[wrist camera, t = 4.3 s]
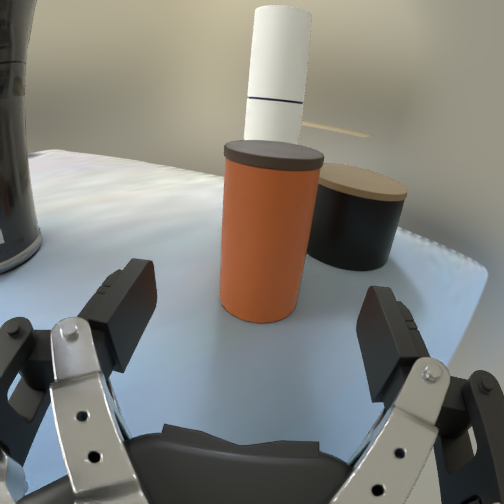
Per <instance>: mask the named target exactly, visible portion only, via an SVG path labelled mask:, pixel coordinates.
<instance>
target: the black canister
mask: <svg viewBox="0 0 504 504" xmlns="http://www.w3.org/2000/svg"><path fill="white" fill-rule="evenodd" d="M407 192H408V190H407V188H406V187H405V186H404V185H403V184H401V183H400V182H398V181H396V180H395V179H393V178H390V177H388V176H386V175H383V174H380V173H377V172H374V171H370V170H367V169H363V168H359V167H354V166H349V165H343V164H334V163H323V166H322V167H321V169H320V176H319V182H318V189H317V195H316V201H315V207H314V213H313V219H312V224H311V230H310V236H309V241H308V247H307V253H308V254H309V255H311V256H312V257H314V258H316V259H317V260H319V261H321V262H324V263H326V264H329V265H331V266H334V267H338V268H342V269H347V270H354V271H368V270H374V269H377V268H380V267H382V266H383V265H384V264H385V263H386V262H387V259H388V256H389V253H390V250H391V247H392V243H393V240H394V236H395V233H396V230H397V226H398V222H399V218H400V215H401V211H402V207H403V203H404V200H405V198H406V196H407Z"/></svg>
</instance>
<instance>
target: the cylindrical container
mask: <svg viewBox="0 0 504 504" xmlns="http://www.w3.org/2000/svg"><path fill="white" fill-rule="evenodd" d="M311 22H312V15H311V14H310V13H309V12H307V11H305V10H303V9H299V8H296V7H291V6H284V5H267V6H262V7H258V8H257V9H256V10H255V18H254V29H253V39H252V50H251V61H250V74H249V84H248V96H249V99H247V109H246V120H245V134H244V140H266V141H277V142H285V143H291V144H296V145H299V140H300V132H301V123H302V114H303V104H302V103H303V102H304V96H305V86H306V76H307V66H308V56H309V45H310V33H311Z"/></svg>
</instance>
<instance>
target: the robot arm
mask: <svg viewBox="0 0 504 504" xmlns="http://www.w3.org/2000/svg"><path fill="white" fill-rule="evenodd" d="M36 2H37V0H0V273H3V272H5V271H8V270H10V269H12V268H14V267H16V266H18V265H19V264H21V263H23V262H24V261H25V260H27V259H28V258H29V257H31V256H32V255H33V254H34V253H35V252H36V251H37V250H38V248H39V247H40V245H41V242H42V236H41V232H40V228H39V226H38V222H37V217H36V212H35V206H34V200H33V193H32V187H31V180H30V172H29V163H28V154H27V141H26V123H25V75H26V59H27V48H28V44H29V39H30V34H31V28H32V22H33V16H34V11H35V6H36ZM156 304H157V289H156V281H155V272H154V264H153V262H152V261H150V260H143V259H135V258H133V259H131V260H130V262H129V263H128V264H127V265H126V267H125V268H124V269H123V270H120V269H119V270H117V271H116V272H114V273H112V274H111V275H109V276H108V277H107V278H106V280H105V281H104V282H103V283H102V286H100V287H99V289H98V290H97V291H96V293H95V294H94V295H93V296H92V298H91V299H90V300H89V301H88V303H87V304H86V305H85V307H84V308H83V309H82V311H81V312H80V313H79V315H78V316H77V317H70V318H66V319H63V320H61V321H59V322H58V323H57V324H56V325H55V326H54V327H53V328H52V330H34V329H33V327H32V325H31V323H30V321H29V320H28V319H27V318H24V317H16V318H12V319H10V320H8V321H7V322H5V323H4V324H3V325H2V327H1V328H0V504H404V503H405V502H406V500H407V498H408V496H409V495H410V493H411V491H412V489H413V487H414V485H415V483H416V481H417V479H418V478H419V475H420V473H421V471H422V469H423V467H424V465H425V463H426V461H427V458H428V456H429V454H430V452H431V450H432V447H434V453H435V458H436V464H437V470H438V477H439V485H440V493H441V502H442V504H504V395H503V392H502V390H501V387H500V385H499V383H498V381H497V380H496V378H495V377H494V376H493V375H492V374H490V373H489V372H487V371H483V370H477V371H475V372H474V373H473V374H472V375H471V376H470V378H469V379H468V380H466V379H461V378H457V377H452V376H450V374H449V371H448V369H447V368H446V366H445V365H444V364H443V363H442V362H440V361H439V360H437V359H434V358H431V357H430V355H429V353H428V351H427V348H426V346H425V344H424V341H423V339H422V337H421V335H420V332H419V330H417V329H418V328H417V326H416V324H415V322H414V319H413V317H412V315H411V313H410V311H409V310H408V309H407V308H406V306H405V305H404V304H403V303H402V302H401V301H396V298H395V296H394V294H393V292H392V290H391V288H389V287H379V286H370V287H369V289H368V291H367V294H366V297H365V299H364V302H363V305H362V308H361V311H360V313H359V316H358V319H357V325H356V332H357V337H358V341H359V345H360V349H361V353H362V358H363V362H364V367H365V371H366V376H367V380H368V385H369V390H370V395H371V400H372V403H374V402H383V403H384V407H385V408H384V409H383V410H382V412H381V413H380V415H379V417H378V418H377V420H376V421H375V423H374V424H373V426H372V428H371V429H370V431H369V432H368V434H367V435H366V437H365V438H364V440H363V441H362V443H361V444H360V446H359V447H358V448H357V450H356V451H355V452H354V454H353V455H352V456H351V457H350V459H349V460H348V461H347V462H344V461H342V460H341V459H339V458H337V457H335V456H333V455H330V454H327V453H324V452H320V451H319V442H311V441H284V440H281V441H274V442H267V443H260V444H252V445H237V444H234V443H231V442H228V441H225V440H223V439H220V438H217V437H215V436H212V435H210V434H207V433H205V432H202V431H198V430H193V429H187V428H182V427H177V426H173V425H168V424H164V426H163V430H162V433H151V434H145V435H140V436H137V437H134V438H132V436H131V434H130V432H129V430H128V428H127V425H126V423H125V421H124V418H123V415H122V413H121V410H120V407H119V405H118V402H117V399H116V396H115V393H114V390H113V387H112V384H111V381H110V379H109V377H110V375H111V373H112V371H117V372H120V373H124V371H125V369H126V367H127V365H128V363H129V361H130V359H131V357H132V354H133V352H134V350H135V348H136V346H137V344H138V342H139V340H140V338H141V336H142V334H143V332H144V330H145V328H146V326H147V324H148V322H149V320H150V318H151V316H152V314H153V312H154V310H155V308H156ZM18 372H19V374H20V375H21V379H20V381H19V383H18V384H17V386H16V388H15V390H14V392H13V393H12V395H11V397H10V399H9V401H8V398H7V393H8V389H9V387H10V386H11V384H12V382H13V380H14V379H15V377H16V375H17V374H18ZM50 402H51V403H52V409H53V415H54V420H55V425H56V430H57V435H58V439H59V443H60V448H61V452H62V456H63V459H64V463H65V467H66V470H67V473H68V474H67V475H65V476H63V477H62V478H60V479H58V480H56V481H54V482H52V483H50V484H48V485H46V486H44V487H42V488H40V489H38V490H36V491H34V492H32V493H30V494H28V495H26V496H25V493H26V492H27V490H28V484H27V482H26V478H25V473H24V470H23V465H24V463H25V460H26V457H27V455H28V452H29V450H30V447H31V445H32V443H33V440H34V438H35V435H36V433H37V431H38V428H39V426H40V424H41V422H42V419H43V417H44V415H45V413H46V411H47V409H48V406H49V404H50ZM471 426H472V427H473V431H474V434H475V438H476V442H477V452H476V455H475V456H474V454H473V450H472V446H471V441H470V437H469V434H468V429H469V428H470V427H471Z"/></svg>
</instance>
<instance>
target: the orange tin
mask: <svg viewBox="0 0 504 504" xmlns="http://www.w3.org/2000/svg"><path fill="white" fill-rule="evenodd" d="M224 156H225V157H226V158H225V159H226V160H225V176H224V196H223V218H222V243H221V274H220V300H221V303H222V305H223V306H224V308H225V309H226V310H227V311H228V312H229V313H231V314H232V315H234V316H235V317H237V318H240V319H242V320H245V321H249V322H255V323H269V322H275V321H278V320H281V319H283V318H285V317H287V316H288V315H289V314H291V313H292V311H293V310H294V308H295V306H296V302H297V298H298V293H299V288H300V283H301V278H302V273H303V268H304V263H305V257H306V252H307V247H308V241H309V236H310V230H311V224H312V219H313V213H314V207H315V201H316V195H317V189H318V182H319V176H320V169H321V167H322V166H323V162H324V155H323V154H322V153H321V152H319V151H317V150H314V149H312V148H308V147H304V146H301V145H296V144H291V143H285V142H277V141H266V140H239V141H232V142H228V143H226V144H225V146H224Z"/></svg>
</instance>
